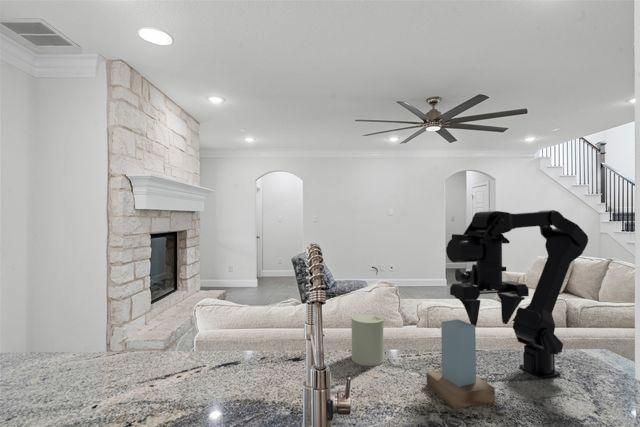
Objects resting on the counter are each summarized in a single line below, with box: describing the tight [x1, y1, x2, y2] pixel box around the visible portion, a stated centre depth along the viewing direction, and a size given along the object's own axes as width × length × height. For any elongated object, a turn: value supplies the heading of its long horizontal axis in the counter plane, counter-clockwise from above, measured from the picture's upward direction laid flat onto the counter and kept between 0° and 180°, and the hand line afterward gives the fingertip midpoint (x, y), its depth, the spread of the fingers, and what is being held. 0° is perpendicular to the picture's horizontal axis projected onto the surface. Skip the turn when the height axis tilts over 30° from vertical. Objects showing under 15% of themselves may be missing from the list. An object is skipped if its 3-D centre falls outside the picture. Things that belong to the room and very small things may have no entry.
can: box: [350, 312, 385, 367], centre depth 90 cm, size 9×9×12 cm
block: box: [440, 318, 477, 387], centre depth 72 cm, size 5×5×12 cm
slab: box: [426, 369, 496, 409], centre depth 72 cm, size 10×10×3 cm
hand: (489, 324), depth 79 cm, fingers open, 9 cm apart
